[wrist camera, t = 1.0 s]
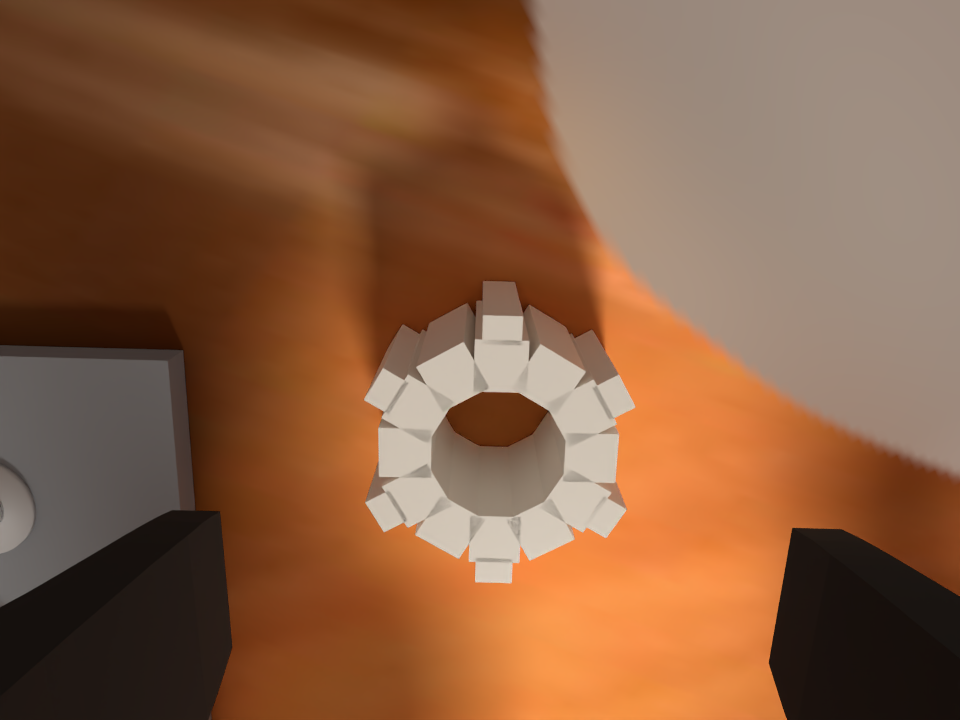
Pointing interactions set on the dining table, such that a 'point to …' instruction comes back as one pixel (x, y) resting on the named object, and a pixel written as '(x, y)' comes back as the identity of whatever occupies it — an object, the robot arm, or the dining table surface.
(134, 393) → the gear board
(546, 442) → the gear
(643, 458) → the dining table surface
